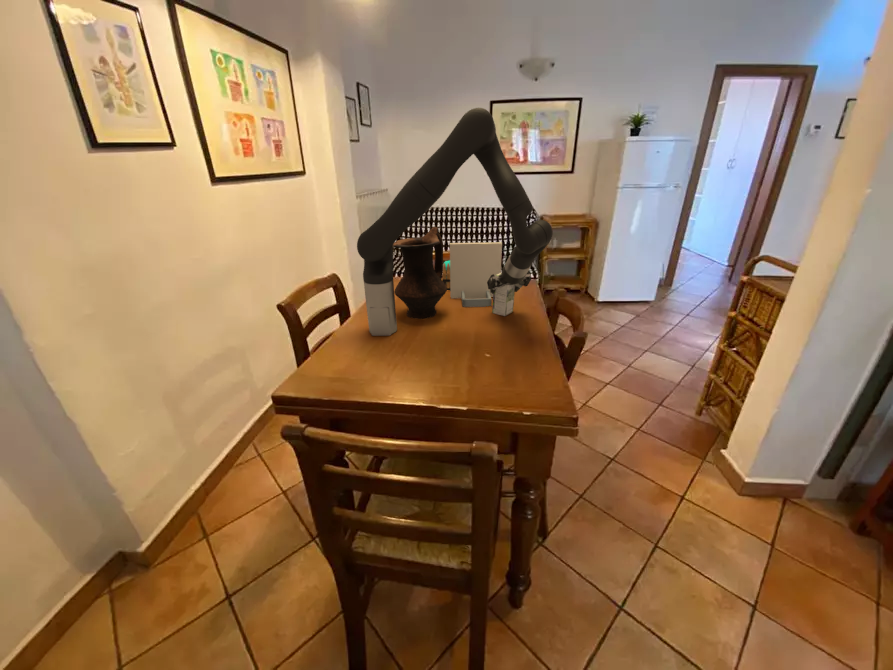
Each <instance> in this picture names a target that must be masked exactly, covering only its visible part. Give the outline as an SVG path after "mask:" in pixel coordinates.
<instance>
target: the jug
mask: <svg viewBox="0 0 893 670" xmlns="http://www.w3.org/2000/svg"><path fill="white" fill-rule="evenodd" d="M392 247H393V248H396V249H401V256H402V262H403V267H404V273H403V276H402V277H401V279H400V280H399V282H398V283H397V285H396V287H395V288H394V296H396V297H397V298H398V299H400V300H401V301H402V302H403V304H405V306H406V307H407V309H408V310H407V312H406V317H408V318H409V319H413V320H425V319H430V318H433V317H435V316H436V315H437V309H436V306H437V304H438V303H439V301H440V300H441V299H442V297H444V296H445V294H447V293H446V292H448V291H447V287H446V285H445V284H444V282H443V263H444V244H443V240H442V236H441V234H440V229H439V227H436V226H434V227H431V228H430V230H429V231H428V232H427V233H426V234H425V235H423V236H417V237H408V238H403V239H399V240H398V239H397V240H396V241H395V242H394V244H393V245H392ZM433 254H434V255H433ZM433 257H434V258H433Z"/></svg>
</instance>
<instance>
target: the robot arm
mask: <svg viewBox="0 0 893 670" xmlns="http://www.w3.org/2000/svg"><path fill="white" fill-rule="evenodd" d="M473 155H474V156H475V158H476V159H477V161H478V162H479V163H480V165H481V166H482V167H483V169H484V171H485V173H486V175H487V176H488V178H489V180H490V183H491V185H492V188H493V189H494V192H495V194H496V196H497V198H498V200H499V202H500V204H501V207H502V208H503V210H504V212H505V214H506V215H507V218H508V220H509V224H510V227H511V230H512V232H511V233H512V235H513V240H514V244H515V246H514V247H513V250H512V251H511V254H510V255H509V256H508V258H507V260H506V262H505V264H504V266H503V267H502V269H501V275H499V276H496V277H495V275H494V274H493V275H491V276H490V278H489V280H488V281H487V285H488V289H490V292H491V293H492V294H494V293H495V291H496V289H497V288H502V287H503V286H505V285H513V284H514V285H515V293H517V292H518V291H520V289H522V288H523V287H527V286H529V284H530V282H531V280H532V275H531V272H530V269H531V266H532V265H533V263H534V262H535V260H536V258H537V257H538V256H539V255H540V254H541V253H542V252H543V251H544V249H546V247H547V246H548V245H549V244H550V243H551V241H552V238H553V235H554V233H553V228H552V227H553V226H552V225H551V224H550V222H548V221H547V220H544V219H539V220H536V221H533V222H532V223H530V224H529V225H528V223H527V218H528V217H529V215H530V214H531V213H532V212H533V210H534V206H533V203H532V202H531V200H530V198H529V196H528V194H527V192H526V191H525V188H524V186H523V185H522V183H521V181H520V180H519V178H518V176H517V175H516V174H515V172H514V169H512V168H511V166H510V164H509V162H508V160H507V158H506V156H505V155H504V153H503V150H502V148H501V144H500V141H499V138H498V135H497V130H496V124H495V119H494V118H493V115H492V113H490V111H488V110H487V109H486V108H483V107H475V108H471V109H470V110H468V111H467V112H465V114H464V115H463V116H462V117H461V118H460V120H459V121H458V122H457V124H456V125H455V127H454V128H453V130H452V131H451V132H450V133H449V135H448V136H447V138H446V139H445V141H444V142H443V143H442V144H441V146H440V147H439V148H437V150H436V151H435V152H434V153H432V155H431V156H430V157H429V158H428V159H427V160H426V161H425V162H424V163H423V164H422V165H421V167H419V169H418V170H416V171H415V173H413V175H412V176H411V177H410V178H409V180H408V181H407V182H406V183H405V184H404V185H403V187H402V188H401V189H400V191H399V192H398V193H397V195H396V196H395V197H394V199H393V200H392V201H391V203H390V204H389V206H388V207H387V208H386V210H384V212H383V214H382V215H380V217H379V218H378V219H377V220H376V221H375V222H374V223H373V224H371V226H369V227H368V228H367V229H366V230H364V231H363V232H362V233H361V234H360V235H359V236H358V239H357V242H356V250H357V252H358V255H359V256H360V257H361V259H363V271H362V272H363V273H362V278H363V279H362V280H363V288H364V296H365V297H364V298H365V306H366V313H367V315H366V316H367V322H368V331H369V333H370V334H371V336H376V337H377V336H378V337H379V336H384V337H385V336H392V334H394V333H396V332H397V331H398V325H397V324H398V322H397V311H396V309H397V308H396V299H395V298H396V297H395V296H396V295H395V284H394V268H395V267H394V265H395V264H394V251H393V249H394V246H393V244H394V243H395V242H396V241H398V239H399V237H401V235H402V234H403V233H404V232H405V231H406V230H407V229H408V228H409V227H410V226H412V225H413V224H414V223H415V222H416V221H418V220H419V219H420V218H421V217H423V215H425V213H426V212H427V211H429V210H430V209H431V208H432V207H433V205H434V204H436V202H437V201H438V200H439V199H440V198H441V197H442V196H443V194H444V193H445V192H446V190H447V189H448V187H449V185H450V184H451V182H452V181H453V178H454V177H455V175H456V173H458V170H460V168H461V167H462V165H464V163H466V162H467V161H468V160H469V159H470V158H471V157H472V156H473ZM500 282H501V283H502V284H501V283H500ZM496 283H497V286H496Z"/></svg>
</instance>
